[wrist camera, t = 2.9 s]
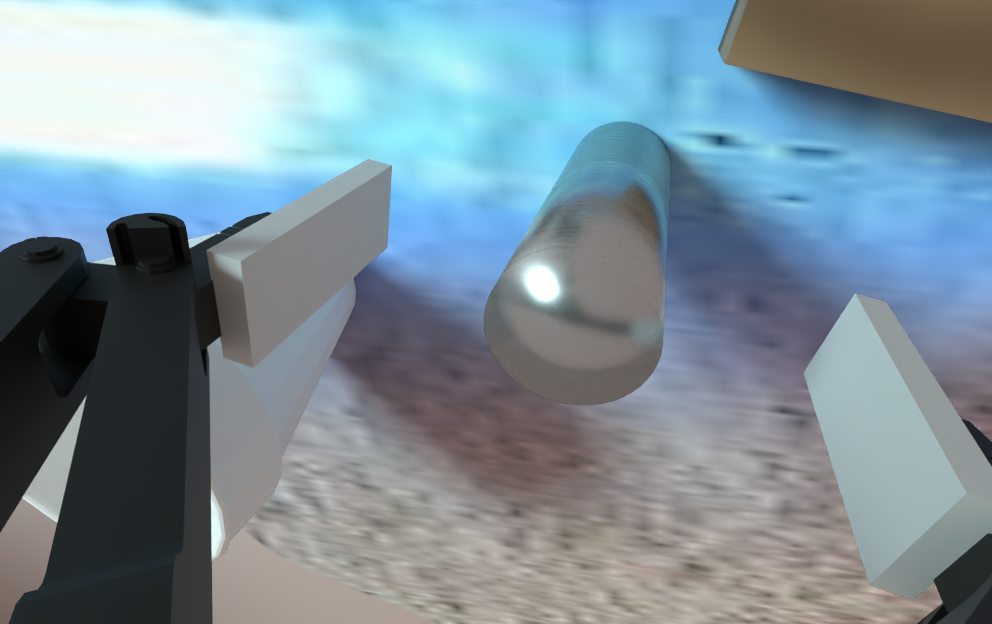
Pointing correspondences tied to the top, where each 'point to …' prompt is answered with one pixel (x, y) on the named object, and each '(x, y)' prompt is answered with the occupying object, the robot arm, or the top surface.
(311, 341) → the cup
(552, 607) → the top surface
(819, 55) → the bore block
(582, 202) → the pin
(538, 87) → the top surface
